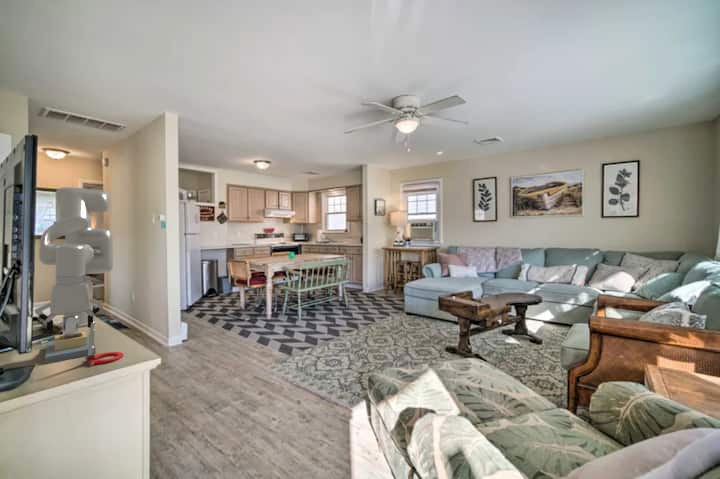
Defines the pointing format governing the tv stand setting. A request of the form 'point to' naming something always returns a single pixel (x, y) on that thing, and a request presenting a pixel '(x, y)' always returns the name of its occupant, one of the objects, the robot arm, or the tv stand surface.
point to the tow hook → (92, 358)
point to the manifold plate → (67, 347)
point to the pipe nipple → (70, 326)
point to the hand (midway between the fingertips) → (70, 329)
